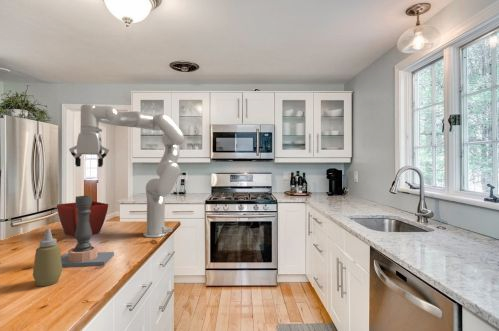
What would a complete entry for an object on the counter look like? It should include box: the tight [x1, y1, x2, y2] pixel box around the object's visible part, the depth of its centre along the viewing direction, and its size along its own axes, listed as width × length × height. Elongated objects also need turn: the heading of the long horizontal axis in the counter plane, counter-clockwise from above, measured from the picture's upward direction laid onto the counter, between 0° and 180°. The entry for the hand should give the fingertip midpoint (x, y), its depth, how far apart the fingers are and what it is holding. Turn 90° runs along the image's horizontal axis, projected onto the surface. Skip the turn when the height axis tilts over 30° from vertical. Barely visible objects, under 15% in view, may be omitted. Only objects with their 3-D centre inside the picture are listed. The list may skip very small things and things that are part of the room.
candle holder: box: [74, 195, 93, 252], centre depth 113 cm, size 6×6×25 cm
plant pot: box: [56, 200, 109, 238], centre depth 154 cm, size 19×19×17 cm
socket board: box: [61, 244, 115, 268], centre depth 113 cm, size 20×12×5 cm, turn 100°
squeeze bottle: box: [32, 228, 63, 287], centre depth 92 cm, size 8×8×18 cm
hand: (89, 166), depth 132 cm, fingers open, 9 cm apart
